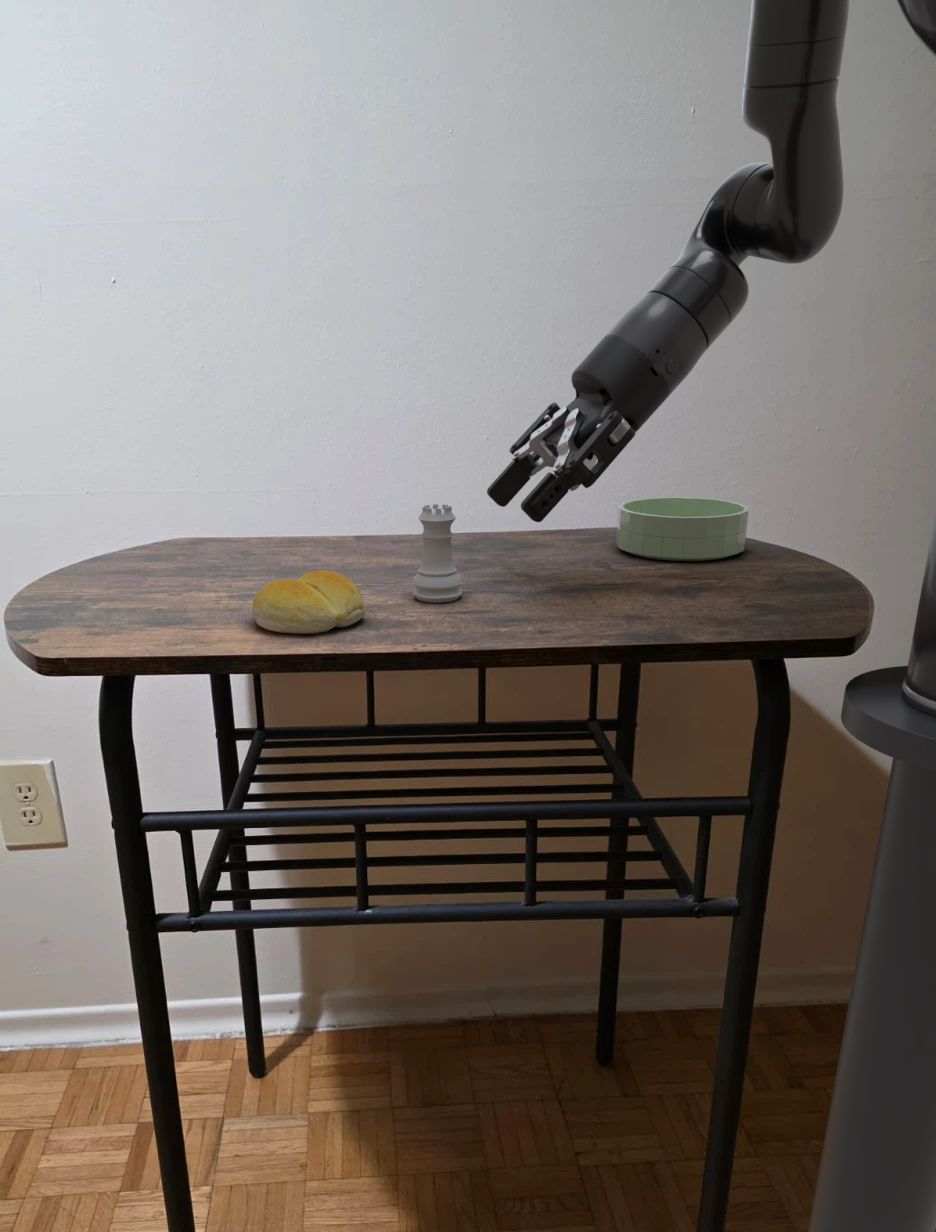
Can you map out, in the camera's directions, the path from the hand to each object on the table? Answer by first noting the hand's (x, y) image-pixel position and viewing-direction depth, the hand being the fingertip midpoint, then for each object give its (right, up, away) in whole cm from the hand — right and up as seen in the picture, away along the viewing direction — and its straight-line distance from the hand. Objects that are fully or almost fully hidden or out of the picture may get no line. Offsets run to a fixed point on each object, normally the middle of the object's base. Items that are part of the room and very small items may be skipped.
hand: (510, 507), depth 85 cm
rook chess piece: (-6, -8, +2) cm, 10 cm away
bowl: (+20, 0, +18) cm, 27 cm away
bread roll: (-17, -11, -5) cm, 21 cm away
